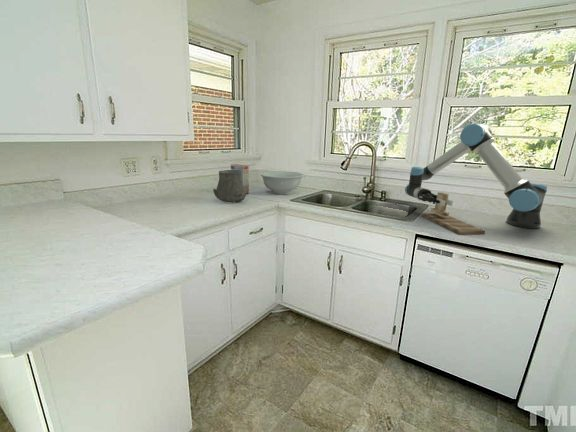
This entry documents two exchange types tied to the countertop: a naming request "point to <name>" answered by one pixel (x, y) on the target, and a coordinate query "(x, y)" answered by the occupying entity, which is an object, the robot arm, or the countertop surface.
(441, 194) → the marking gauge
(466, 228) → the walnut board
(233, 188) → the vessel
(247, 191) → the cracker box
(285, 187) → the bowl
